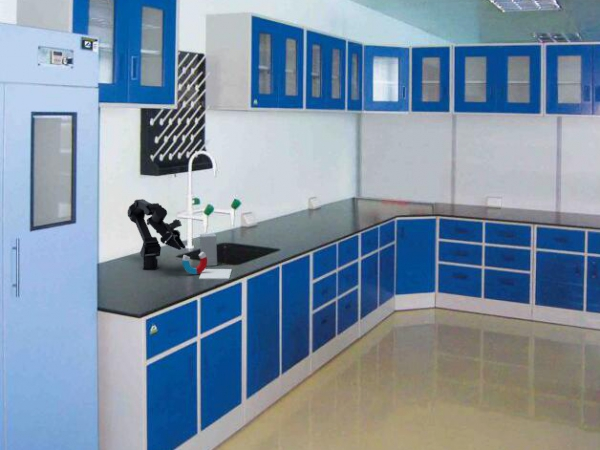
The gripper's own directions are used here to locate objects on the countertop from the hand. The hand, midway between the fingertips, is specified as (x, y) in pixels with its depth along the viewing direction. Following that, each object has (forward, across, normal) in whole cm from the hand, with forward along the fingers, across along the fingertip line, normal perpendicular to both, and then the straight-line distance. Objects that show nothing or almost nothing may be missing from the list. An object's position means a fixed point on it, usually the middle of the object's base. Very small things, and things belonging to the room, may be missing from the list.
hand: (182, 248), depth 370 cm
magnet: (+13, -1, +4) cm, 14 cm away
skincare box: (+13, +21, +1) cm, 25 cm away
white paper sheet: (+20, 0, -2) cm, 20 cm away
